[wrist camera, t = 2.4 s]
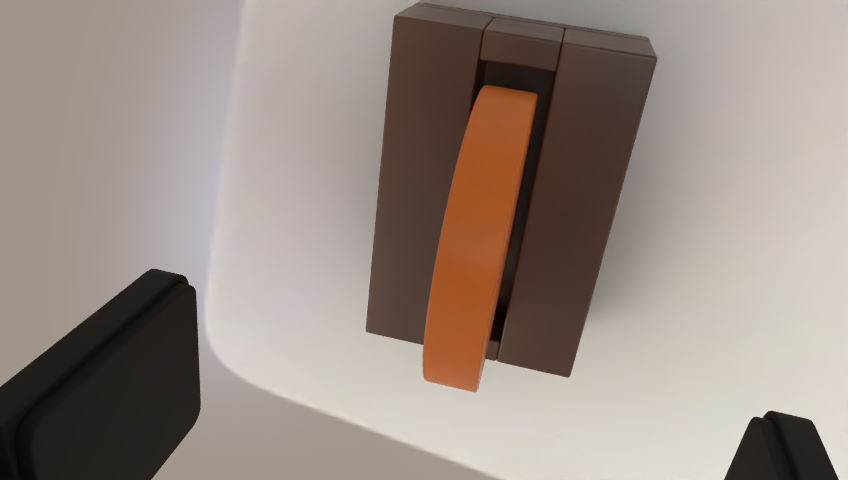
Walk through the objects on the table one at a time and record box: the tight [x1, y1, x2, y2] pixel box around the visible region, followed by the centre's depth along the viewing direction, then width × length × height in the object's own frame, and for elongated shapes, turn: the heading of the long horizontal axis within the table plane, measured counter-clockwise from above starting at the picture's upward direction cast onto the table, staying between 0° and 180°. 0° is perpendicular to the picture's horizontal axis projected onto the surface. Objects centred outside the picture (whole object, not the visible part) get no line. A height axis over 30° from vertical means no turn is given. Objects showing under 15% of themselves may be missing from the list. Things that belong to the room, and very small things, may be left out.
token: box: [423, 85, 538, 392], centre depth 16 cm, size 1×7×7 cm, turn 173°
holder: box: [366, 2, 657, 377], centre depth 18 cm, size 6×9×2 cm, turn 173°
